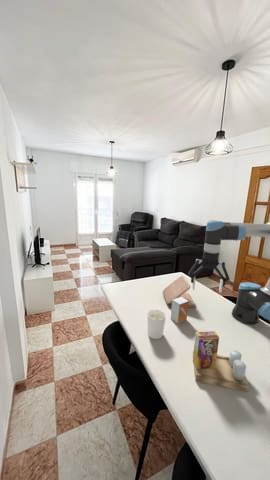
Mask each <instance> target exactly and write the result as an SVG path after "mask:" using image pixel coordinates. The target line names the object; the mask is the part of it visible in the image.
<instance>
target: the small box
mask: <svg viewBox="0 0 270 480" xmlns="http://www.w3.org/2000/svg"><path fill="white" fill-rule="evenodd" d="M188 304H189V301H188V300H186V299H184V298H183V297H179V298H176V299H174V300H172V307H171V311H170V312H171V313H170V320H172V321H173V322H175V323H176V324H178V325H179V324H180V323H182V322H185V321H187V319H188V311H189V307H188Z"/></svg>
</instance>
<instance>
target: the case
mask: <svg viewBox="0 0 270 480" xmlns="http://www.w3.org/2000/svg"><path fill="white" fill-rule="evenodd" d="M190 289H191V284H190V283H189V281H188V280H187V279H186V278H185V276H183V275H181V276H179V277H177V279H175V280H174V281H173V282H172V283H170V284H169V285H168V286H166V287H165V288H164V289H163V290H162V294H163V297H164V299H165V303H166V306H167V307H168V308H172V300H174V299H176V298H179V297H183V298H184V299H186V300H188V301H189V304H188V308H196V306H197V304H196V303H195V302H194V300H193V299H192V297H191V295H190V294H189V293H188V291H189V290H190Z"/></svg>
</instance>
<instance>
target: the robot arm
mask: <svg viewBox="0 0 270 480" xmlns="http://www.w3.org/2000/svg"><path fill="white" fill-rule="evenodd" d="M246 237H255V238H256V237H259V238H265V239H267V240H270V222H266V223H252V222H251V223H250V222H249V223H246V222H225V221H222V220H211V219H210V220H208V221H207V223H206V227H205V237H204V244H203V245H204V246H203V253H202V259H199V258H196V259H195V263H194V264H193V265H192V266H191V268H190V270H189V271H188V272H187V275H188V277H190V283H191V284H192V286H191V288H192V291H193V290H195V288H196V287H195V285H196V276H197V275H198V274H200V273H201V272H202V271H203V270H204V269H205V270H215V272H217V274H218V276H219V277H220V280H219V287H218V291H219V294H222V292H223V287H225V285H226V281H231V279H230V275H229V274H228V271H227V269H226V263H225V261H224V260H222V261H220V260H219V258H220V250H221V244H222V241H236V242H237V241H243V240H244V239H245V238H246ZM200 264H201V265H200ZM199 265H200V266H199ZM198 266H199V267H198ZM218 266H221V269H222V271H223V274H224V275H223V274H222V273H221V271H220V270H219V268H218ZM197 267H198V268H197ZM237 290H238V291H237V298H236V304H235V305H234V306H233V308H232V310H231V316H232V317H233V318H234V319H235V320H236V321H238V322H240V323H243V324H247V325H256V324H258V323H259V319H260V318H259V316H260V317H262V318H263V319H264V320H267V321H270V277H268V279H267V282H266V284H265V285H264V287H262V286H261V285H260V284H258V283H254V282H249V281H248V282H247V281H246V282H240V284H239V286H238V289H237Z"/></svg>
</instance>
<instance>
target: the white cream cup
mask: <svg viewBox="0 0 270 480" xmlns="http://www.w3.org/2000/svg"><path fill="white" fill-rule="evenodd" d="M166 317H167V316H166V313H165V312H164V311H162V310H161V309H160V310H159V309H151V310H149V311H147V335H148V337H149V338H151V339H154V340H160V339H162V337H163V335H164V329H165V322H166Z"/></svg>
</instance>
